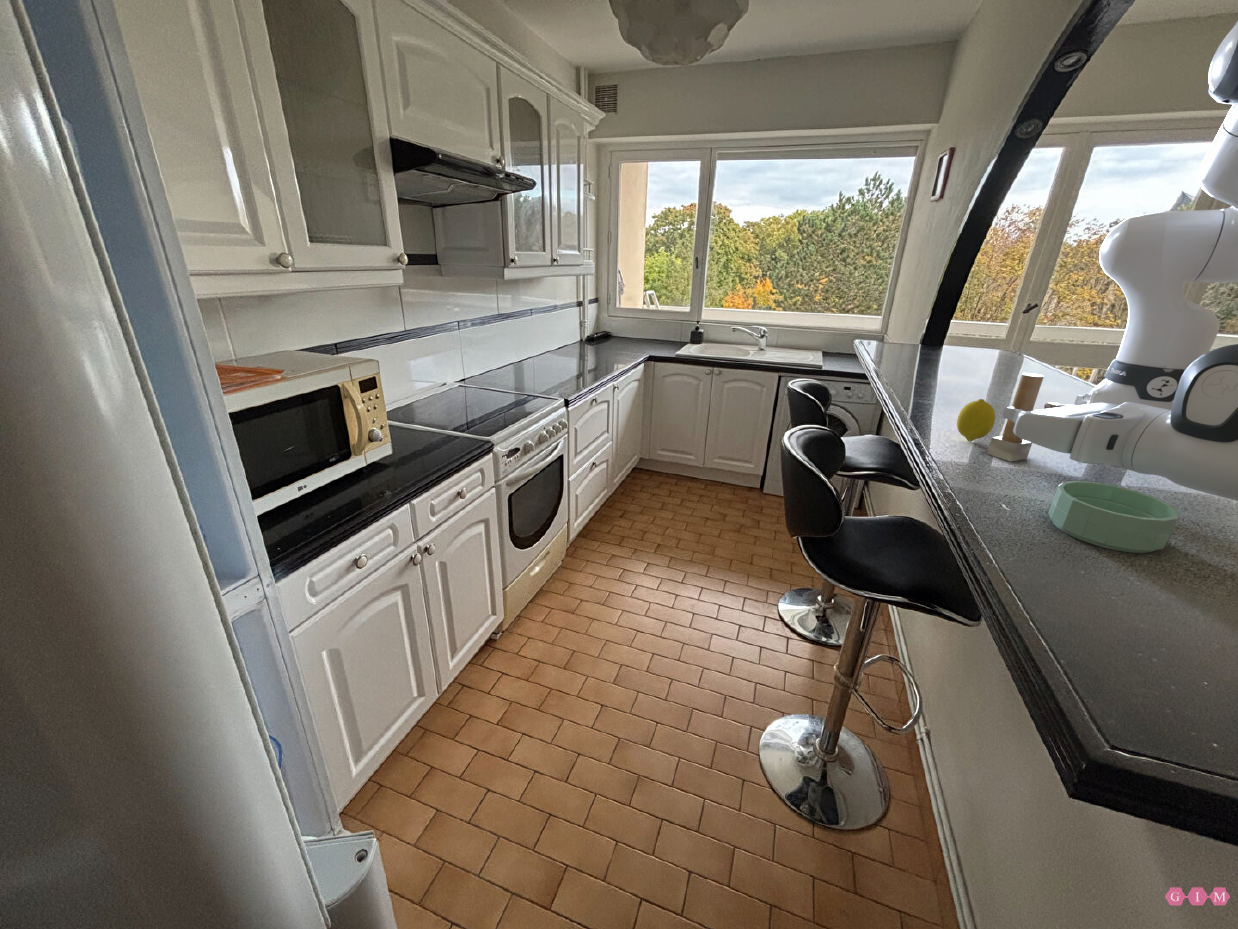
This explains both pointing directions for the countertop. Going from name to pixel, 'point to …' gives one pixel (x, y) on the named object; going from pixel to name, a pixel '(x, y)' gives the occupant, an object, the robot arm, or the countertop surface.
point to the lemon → (976, 420)
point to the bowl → (1113, 516)
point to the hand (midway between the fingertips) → (1026, 409)
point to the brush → (1009, 443)
